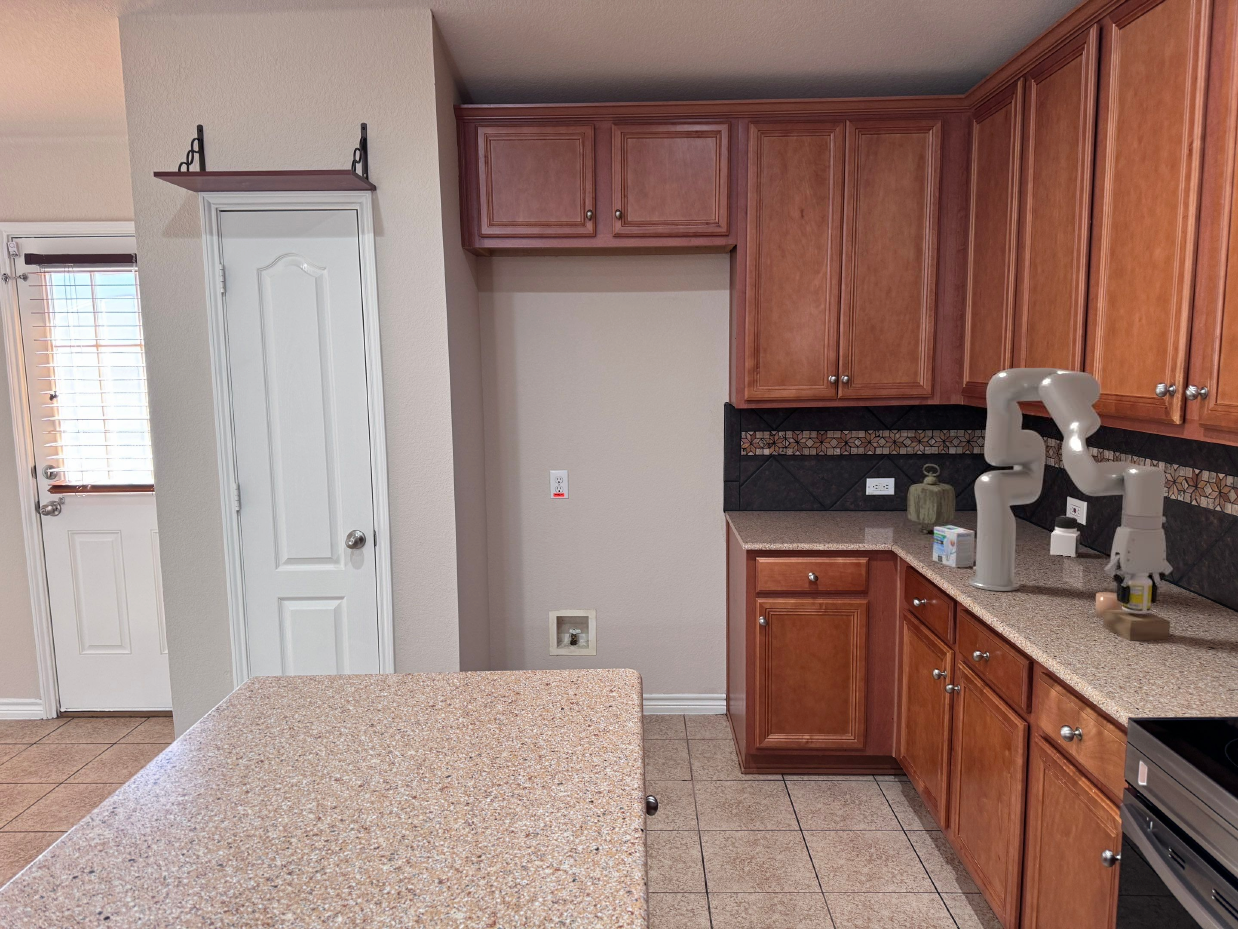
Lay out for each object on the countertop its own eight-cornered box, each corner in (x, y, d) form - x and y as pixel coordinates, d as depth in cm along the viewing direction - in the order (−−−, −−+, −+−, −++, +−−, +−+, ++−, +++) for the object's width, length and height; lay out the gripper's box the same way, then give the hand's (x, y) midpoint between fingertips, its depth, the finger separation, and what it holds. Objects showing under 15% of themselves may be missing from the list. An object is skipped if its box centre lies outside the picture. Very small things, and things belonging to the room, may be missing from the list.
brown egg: (1089, 612, 200) (1090, 592, 199) (1113, 611, 200) (1114, 591, 200) (1105, 620, 194) (1106, 599, 193) (1130, 619, 194) (1131, 598, 194)
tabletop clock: (954, 534, 293) (956, 465, 290) (938, 537, 288) (940, 467, 285) (920, 528, 305) (922, 461, 302) (903, 531, 300) (905, 463, 297)
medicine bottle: (1075, 557, 256) (1077, 519, 254) (1050, 555, 260) (1051, 517, 258) (1079, 553, 261) (1081, 516, 260) (1054, 550, 265) (1055, 514, 264)
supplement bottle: (1139, 607, 186) (1142, 564, 185) (1155, 614, 181) (1159, 570, 180) (1116, 607, 186) (1119, 565, 185) (1131, 614, 181) (1135, 571, 180)
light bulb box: (931, 560, 255) (933, 526, 254) (950, 558, 257) (951, 524, 256) (955, 568, 245) (957, 532, 244) (974, 566, 247) (975, 531, 246)
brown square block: (1102, 627, 188) (1103, 609, 188) (1140, 626, 189) (1141, 608, 188) (1129, 640, 179) (1130, 621, 179) (1168, 639, 180) (1170, 620, 179)
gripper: (1166, 518, 186) (1160, 596, 188) (1093, 520, 184) (1088, 598, 187) (1191, 524, 178) (1185, 605, 180) (1115, 526, 177) (1110, 608, 179)
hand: (1136, 601), depth 183 cm, fingers open, 5 cm apart
